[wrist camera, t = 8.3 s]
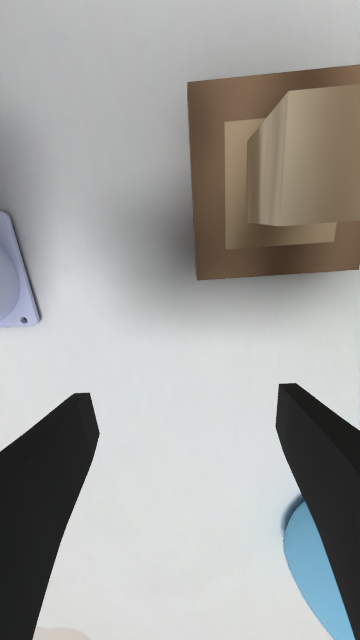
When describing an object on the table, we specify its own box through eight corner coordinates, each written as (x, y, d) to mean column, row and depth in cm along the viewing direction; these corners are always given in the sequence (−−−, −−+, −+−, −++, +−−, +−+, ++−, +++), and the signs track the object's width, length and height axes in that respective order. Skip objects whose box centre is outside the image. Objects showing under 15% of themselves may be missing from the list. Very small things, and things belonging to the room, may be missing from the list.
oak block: (245, 222, 15) (279, 226, 10) (247, 141, 14) (288, 90, 8) (315, 216, 15) (391, 218, 9) (325, 134, 14) (421, 77, 8)
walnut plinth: (196, 273, 19) (197, 280, 17) (187, 99, 15) (187, 81, 13) (341, 264, 18) (359, 269, 16) (369, 80, 14) (397, 59, 12)
